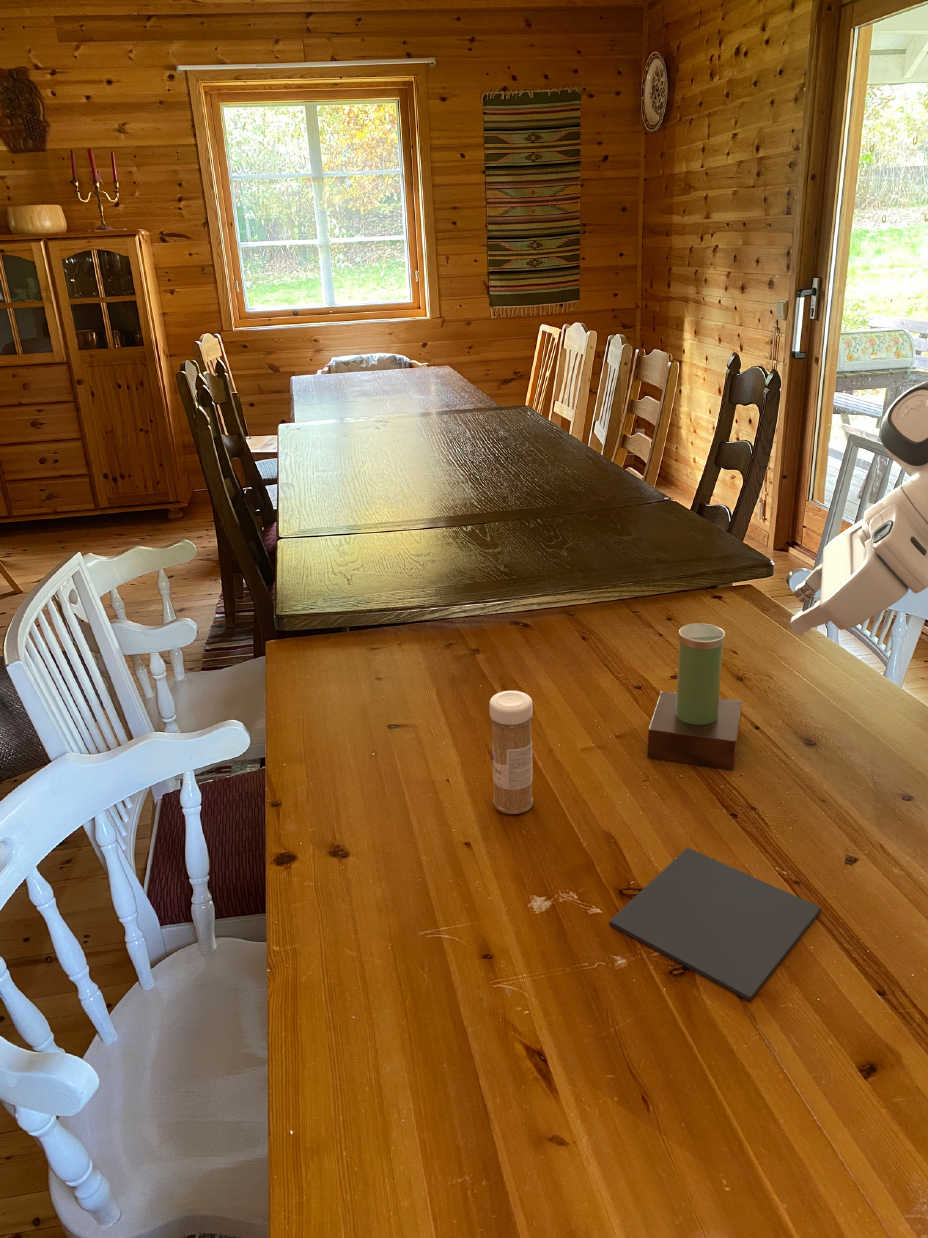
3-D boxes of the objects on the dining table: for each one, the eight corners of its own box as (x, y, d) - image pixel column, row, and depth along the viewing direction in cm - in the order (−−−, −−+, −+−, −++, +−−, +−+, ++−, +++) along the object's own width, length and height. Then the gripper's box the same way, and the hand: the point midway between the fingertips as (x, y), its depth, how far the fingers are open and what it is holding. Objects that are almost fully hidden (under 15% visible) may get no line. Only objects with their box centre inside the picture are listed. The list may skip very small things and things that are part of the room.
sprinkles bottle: (488, 797, 104) (484, 692, 99) (526, 789, 105) (524, 686, 100) (499, 820, 100) (496, 712, 95) (539, 812, 101) (538, 705, 96)
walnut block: (739, 728, 115) (742, 700, 114) (733, 770, 107) (735, 741, 105) (659, 718, 119) (661, 690, 117) (647, 758, 110) (648, 729, 108)
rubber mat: (821, 911, 85) (821, 907, 85) (750, 1002, 76) (750, 997, 75) (687, 851, 94) (687, 847, 94) (609, 925, 85) (609, 921, 84)
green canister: (726, 712, 111) (733, 630, 107) (705, 730, 108) (710, 645, 103) (688, 700, 115) (693, 619, 110) (666, 716, 111) (670, 634, 107)
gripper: (881, 487, 104) (782, 560, 111) (888, 543, 87) (770, 626, 94) (918, 527, 104) (816, 598, 112) (932, 591, 87) (811, 670, 94)
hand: (795, 611), depth 103 cm, fingers open, 8 cm apart
